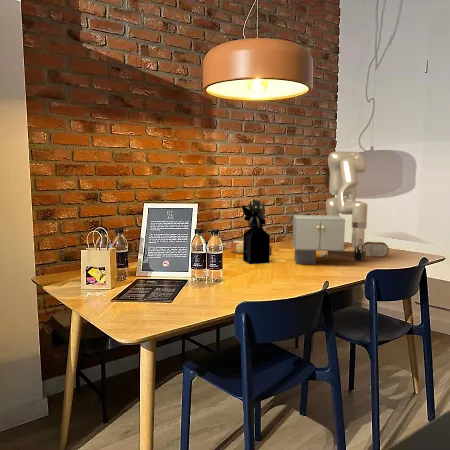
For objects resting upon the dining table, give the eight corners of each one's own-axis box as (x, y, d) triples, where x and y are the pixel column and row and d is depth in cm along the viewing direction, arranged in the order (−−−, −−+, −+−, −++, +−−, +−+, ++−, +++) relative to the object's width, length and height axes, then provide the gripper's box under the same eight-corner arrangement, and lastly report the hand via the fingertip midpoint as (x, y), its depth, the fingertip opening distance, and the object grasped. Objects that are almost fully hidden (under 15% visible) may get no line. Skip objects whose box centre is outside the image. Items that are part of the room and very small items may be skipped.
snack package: (272, 254, 249) (272, 242, 248) (268, 256, 243) (268, 244, 242) (235, 251, 257) (235, 239, 257) (231, 253, 251) (231, 241, 250)
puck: (319, 256, 245) (320, 252, 245) (328, 256, 244) (329, 252, 244) (321, 258, 240) (321, 253, 240) (330, 258, 240) (330, 253, 239)
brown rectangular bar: (327, 259, 235) (327, 250, 234) (364, 260, 233) (365, 251, 233) (327, 260, 233) (328, 251, 232) (365, 261, 231) (366, 251, 230)
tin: (387, 256, 245) (388, 242, 244) (389, 257, 242) (389, 242, 241) (360, 255, 247) (361, 241, 246) (361, 257, 244) (362, 242, 242)
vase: (245, 265, 219) (246, 196, 215) (237, 260, 230) (238, 194, 226) (271, 263, 224) (272, 196, 219) (262, 259, 235) (264, 194, 230)
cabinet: (292, 258, 237) (293, 215, 234) (336, 259, 235) (338, 215, 232) (295, 266, 218) (296, 219, 215) (343, 267, 216) (345, 219, 213)
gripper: (348, 223, 238) (347, 256, 241) (354, 227, 223) (353, 262, 225) (362, 223, 238) (361, 256, 240) (369, 227, 222) (368, 262, 224)
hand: (357, 259), depth 232 cm, fingers closed on brown rectangular bar, 1 cm apart
